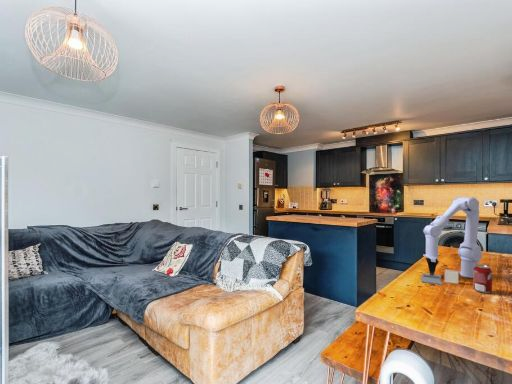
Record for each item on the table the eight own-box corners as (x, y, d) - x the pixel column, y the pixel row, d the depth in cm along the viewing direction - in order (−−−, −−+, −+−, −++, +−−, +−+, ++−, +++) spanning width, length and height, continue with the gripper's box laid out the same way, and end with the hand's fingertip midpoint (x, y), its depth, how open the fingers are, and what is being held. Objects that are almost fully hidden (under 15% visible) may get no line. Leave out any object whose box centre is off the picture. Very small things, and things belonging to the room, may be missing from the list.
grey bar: (423, 275, 152) (423, 262, 152) (440, 277, 149) (440, 264, 149) (423, 276, 150) (423, 264, 150) (440, 278, 146) (441, 265, 146)
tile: (444, 281, 143) (444, 269, 143) (458, 283, 140) (458, 270, 140) (444, 282, 141) (444, 269, 141) (458, 284, 138) (458, 271, 138)
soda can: (484, 294, 125) (485, 268, 124) (469, 289, 131) (470, 264, 131) (495, 293, 126) (495, 267, 126) (480, 288, 133) (480, 263, 133)
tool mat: (420, 277, 149) (420, 276, 149) (440, 279, 145) (440, 278, 145) (421, 282, 141) (421, 281, 141) (442, 285, 137) (442, 284, 137)
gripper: (422, 244, 157) (422, 267, 157) (424, 249, 144) (424, 274, 144) (436, 245, 154) (436, 269, 154) (440, 250, 141) (440, 276, 141)
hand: (431, 272), depth 149 cm, fingers closed on grey bar, 2 cm apart
